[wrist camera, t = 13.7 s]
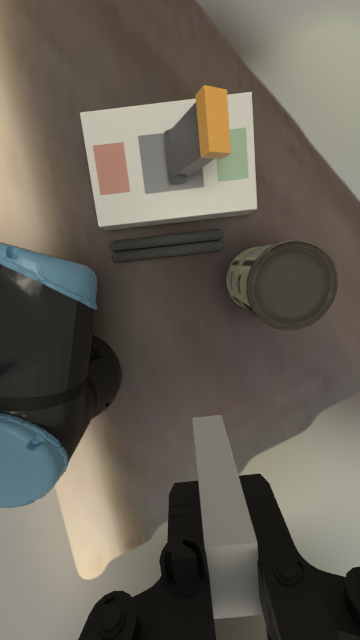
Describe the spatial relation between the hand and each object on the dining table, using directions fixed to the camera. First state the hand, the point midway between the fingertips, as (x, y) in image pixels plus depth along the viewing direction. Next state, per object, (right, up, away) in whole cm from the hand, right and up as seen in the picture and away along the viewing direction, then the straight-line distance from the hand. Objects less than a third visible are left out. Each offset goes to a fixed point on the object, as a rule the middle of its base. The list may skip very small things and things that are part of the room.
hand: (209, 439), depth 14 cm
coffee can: (+11, +13, +31) cm, 35 cm away
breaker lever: (-3, +27, +22) cm, 35 cm away
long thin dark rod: (-4, +18, +29) cm, 35 cm away
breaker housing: (-3, +28, +27) cm, 39 cm away
